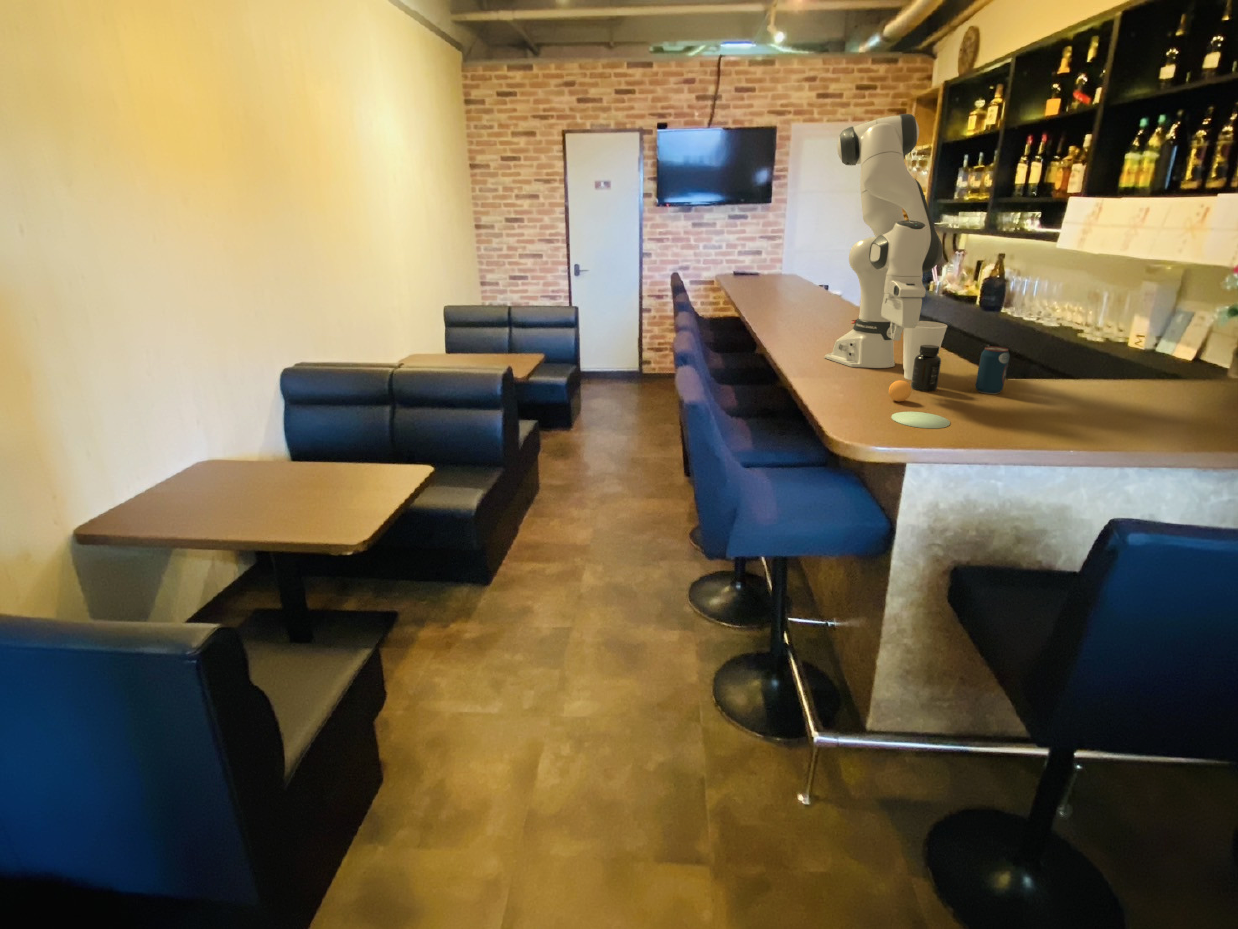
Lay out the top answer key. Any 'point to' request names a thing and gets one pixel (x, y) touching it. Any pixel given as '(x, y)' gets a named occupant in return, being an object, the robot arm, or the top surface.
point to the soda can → (992, 370)
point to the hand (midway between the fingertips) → (895, 339)
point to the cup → (920, 342)
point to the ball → (899, 390)
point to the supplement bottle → (926, 369)
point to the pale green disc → (920, 420)
